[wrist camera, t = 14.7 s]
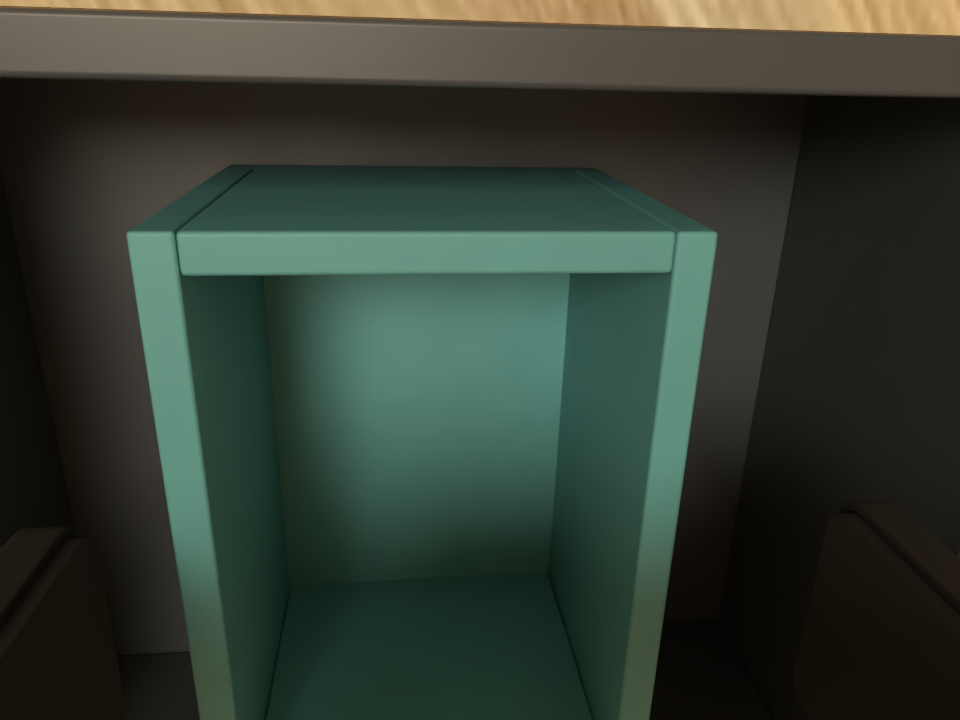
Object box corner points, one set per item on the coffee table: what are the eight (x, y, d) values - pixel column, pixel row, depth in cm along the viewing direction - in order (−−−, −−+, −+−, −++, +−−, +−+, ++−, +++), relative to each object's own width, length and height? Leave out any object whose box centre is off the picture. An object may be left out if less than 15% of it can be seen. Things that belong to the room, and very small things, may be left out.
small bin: (597, 167, 14) (720, 232, 9) (565, 575, 17) (639, 795, 12) (228, 164, 13) (123, 231, 8) (270, 590, 16) (215, 832, 11)
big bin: (833, 49, 14) (1172, 41, 8) (728, 623, 19) (888, 890, 13) (-53, 24, 12) (-488, -11, 6) (86, 662, 17) (-80, 991, 11)
